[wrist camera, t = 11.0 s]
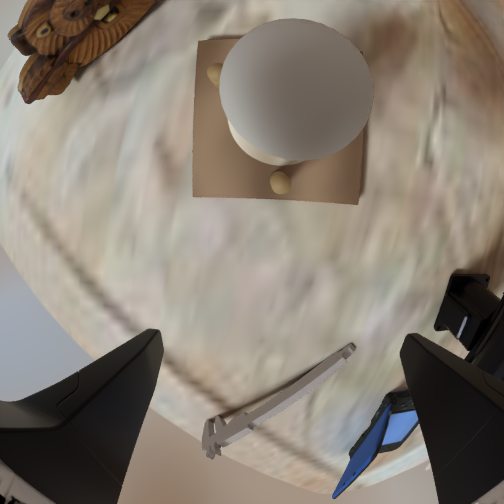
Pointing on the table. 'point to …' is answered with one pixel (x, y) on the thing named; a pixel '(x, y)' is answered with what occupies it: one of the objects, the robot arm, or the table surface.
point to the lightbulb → (296, 89)
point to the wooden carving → (67, 39)
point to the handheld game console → (380, 435)
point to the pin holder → (258, 151)
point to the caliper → (269, 406)
